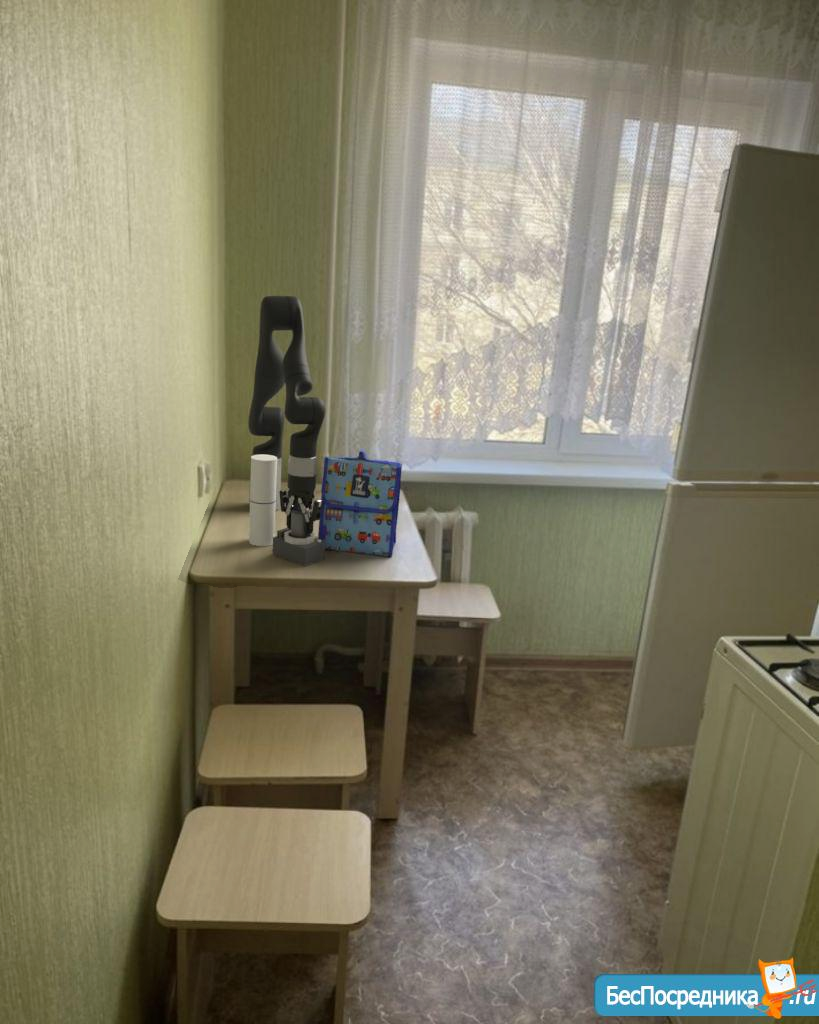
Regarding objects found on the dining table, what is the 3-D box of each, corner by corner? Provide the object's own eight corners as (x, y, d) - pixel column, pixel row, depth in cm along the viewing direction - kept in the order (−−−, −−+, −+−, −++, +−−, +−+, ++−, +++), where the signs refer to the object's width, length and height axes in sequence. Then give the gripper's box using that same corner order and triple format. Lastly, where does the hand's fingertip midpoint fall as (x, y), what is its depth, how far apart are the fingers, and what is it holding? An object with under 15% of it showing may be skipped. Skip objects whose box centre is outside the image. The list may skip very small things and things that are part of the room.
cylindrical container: (250, 546, 215) (252, 460, 207) (248, 537, 221) (250, 454, 214) (275, 546, 217) (278, 460, 209) (272, 537, 223) (275, 454, 216)
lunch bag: (316, 550, 217) (322, 451, 208) (324, 535, 230) (330, 441, 221) (392, 558, 216) (401, 459, 207) (396, 542, 229) (404, 448, 220)
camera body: (272, 554, 210) (273, 531, 208) (292, 547, 217) (293, 525, 215) (305, 566, 204) (306, 543, 202) (324, 558, 211) (325, 536, 209)
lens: (287, 539, 208) (287, 509, 206) (297, 535, 212) (298, 506, 209) (299, 543, 206) (300, 513, 203) (310, 539, 210) (311, 509, 207)
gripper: (272, 468, 204) (270, 527, 209) (313, 479, 197) (310, 541, 202) (291, 464, 210) (289, 521, 215) (332, 475, 203) (328, 534, 208)
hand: (299, 530), depth 208 cm, fingers open, 6 cm apart
